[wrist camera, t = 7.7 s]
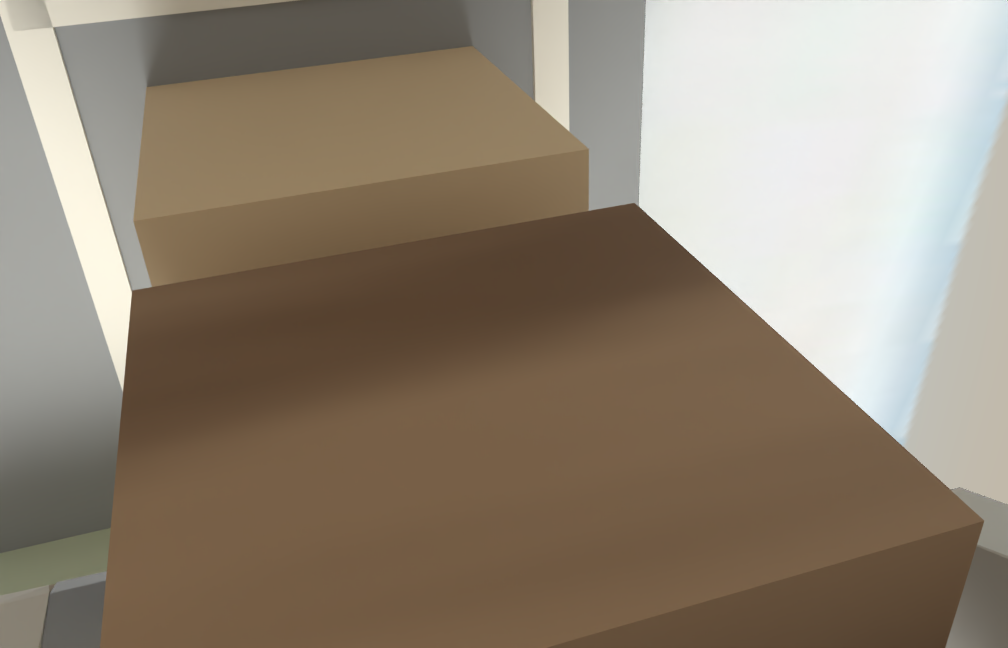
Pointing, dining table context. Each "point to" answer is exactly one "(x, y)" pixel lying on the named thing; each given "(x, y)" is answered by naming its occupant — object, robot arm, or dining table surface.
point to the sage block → (54, 561)
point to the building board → (42, 278)
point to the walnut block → (508, 461)
